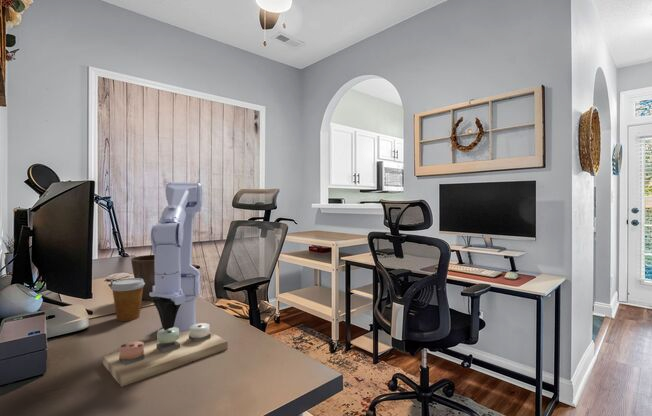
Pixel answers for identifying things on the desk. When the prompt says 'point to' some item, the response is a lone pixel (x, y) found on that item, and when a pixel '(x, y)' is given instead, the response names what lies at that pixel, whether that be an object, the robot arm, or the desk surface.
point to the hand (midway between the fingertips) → (168, 327)
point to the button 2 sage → (168, 335)
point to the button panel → (162, 357)
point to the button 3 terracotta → (131, 350)
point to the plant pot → (145, 273)
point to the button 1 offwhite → (199, 330)
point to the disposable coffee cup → (127, 298)
